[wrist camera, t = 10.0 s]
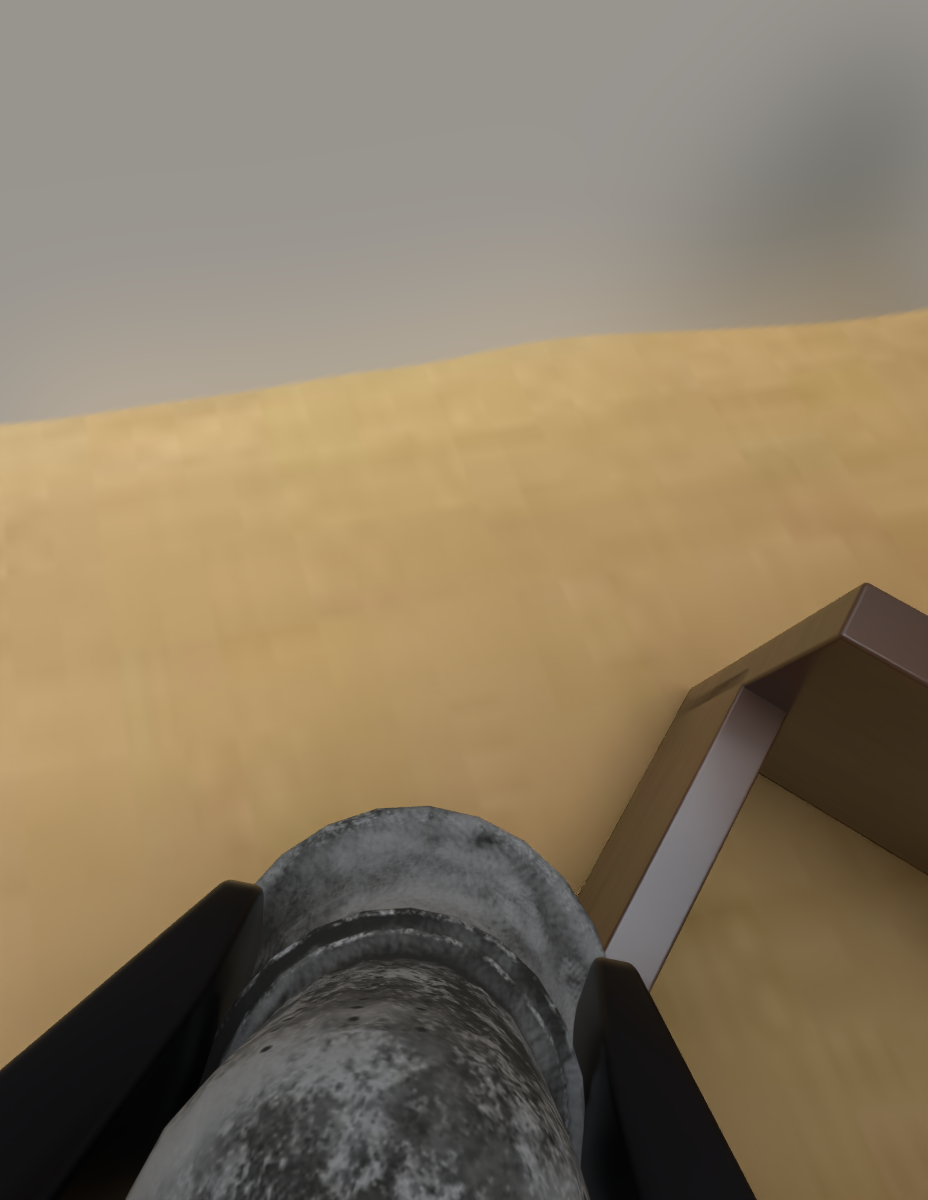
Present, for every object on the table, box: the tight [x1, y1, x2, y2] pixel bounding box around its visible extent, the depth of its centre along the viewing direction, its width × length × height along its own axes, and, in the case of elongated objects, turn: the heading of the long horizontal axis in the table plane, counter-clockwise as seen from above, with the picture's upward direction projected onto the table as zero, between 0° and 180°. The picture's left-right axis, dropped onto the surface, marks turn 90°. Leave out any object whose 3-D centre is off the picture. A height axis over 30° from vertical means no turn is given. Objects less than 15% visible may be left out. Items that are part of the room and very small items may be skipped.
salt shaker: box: [126, 806, 606, 1200], centre depth 8 cm, size 6×6×12 cm
